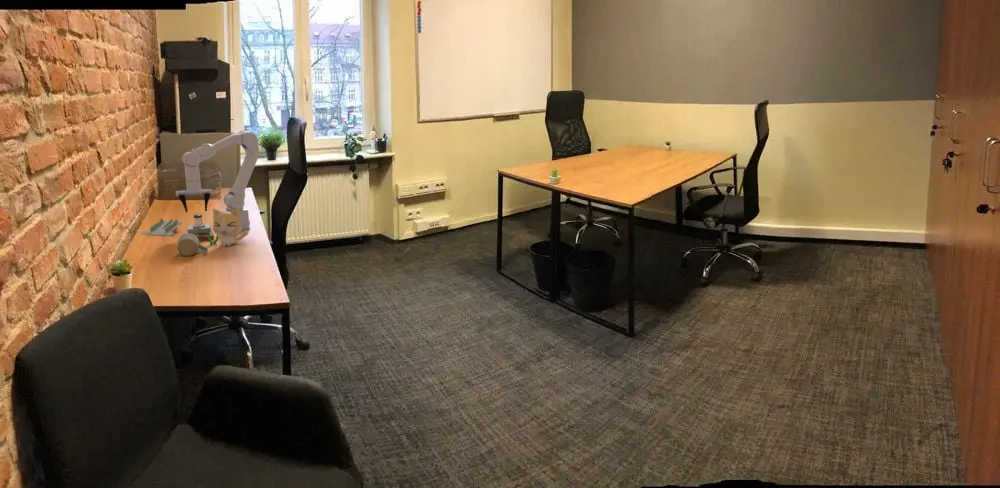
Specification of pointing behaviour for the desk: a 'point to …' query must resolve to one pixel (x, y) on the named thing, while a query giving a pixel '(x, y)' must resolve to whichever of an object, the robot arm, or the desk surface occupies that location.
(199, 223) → the pin
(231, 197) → the robot arm
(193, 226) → the dock
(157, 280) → the desk surface
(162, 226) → the metal bracket
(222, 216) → the kitten
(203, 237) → the mount
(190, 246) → the ceramic mug
